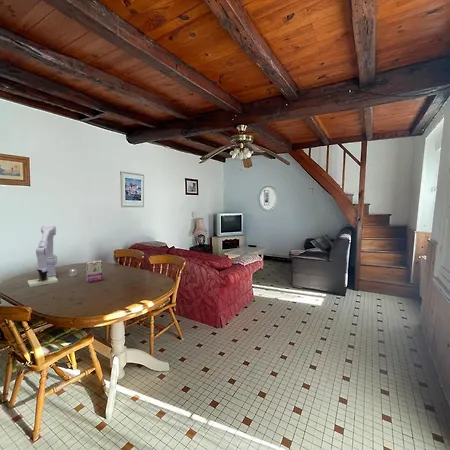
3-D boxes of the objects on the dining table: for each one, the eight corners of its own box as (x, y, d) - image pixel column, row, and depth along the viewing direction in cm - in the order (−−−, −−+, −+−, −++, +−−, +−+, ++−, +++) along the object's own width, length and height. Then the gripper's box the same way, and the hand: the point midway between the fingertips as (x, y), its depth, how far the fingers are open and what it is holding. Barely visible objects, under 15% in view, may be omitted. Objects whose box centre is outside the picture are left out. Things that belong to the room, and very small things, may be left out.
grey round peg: (68, 276, 212) (68, 269, 212) (75, 274, 216) (75, 268, 216) (70, 277, 208) (70, 270, 208) (77, 276, 212) (77, 269, 212)
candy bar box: (101, 278, 207) (100, 260, 206) (102, 280, 203) (102, 261, 202) (86, 281, 200) (85, 261, 199) (87, 282, 196) (87, 263, 195)
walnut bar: (39, 282, 193) (38, 275, 193) (46, 281, 197) (46, 274, 196) (39, 283, 191) (39, 276, 191) (47, 282, 195) (47, 275, 194)
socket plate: (27, 283, 192) (27, 280, 192) (54, 278, 204) (54, 276, 204) (29, 286, 183) (29, 284, 183) (57, 282, 196) (57, 279, 196)
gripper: (49, 263, 190) (50, 279, 191) (46, 259, 200) (47, 275, 202) (38, 264, 185) (39, 281, 186) (35, 261, 195) (36, 277, 197)
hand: (42, 278), depth 194 cm, fingers open, 7 cm apart
